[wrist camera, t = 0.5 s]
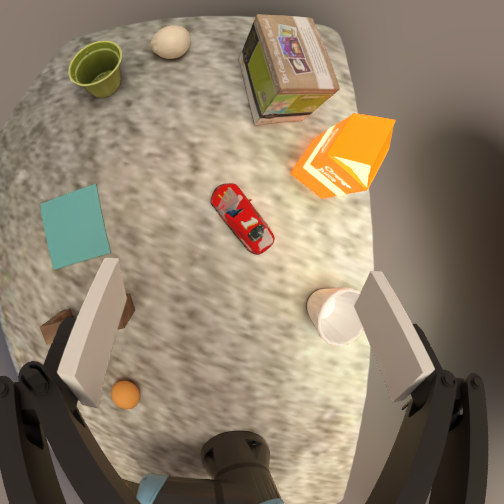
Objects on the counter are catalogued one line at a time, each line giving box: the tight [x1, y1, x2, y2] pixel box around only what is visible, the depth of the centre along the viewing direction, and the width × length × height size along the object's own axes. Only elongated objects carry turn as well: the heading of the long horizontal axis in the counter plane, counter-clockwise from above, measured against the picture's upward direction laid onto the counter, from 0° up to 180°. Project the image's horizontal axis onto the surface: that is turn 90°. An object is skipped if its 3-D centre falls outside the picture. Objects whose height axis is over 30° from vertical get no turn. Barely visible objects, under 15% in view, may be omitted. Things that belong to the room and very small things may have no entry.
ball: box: [111, 381, 140, 409], centre depth 43 cm, size 6×6×6 cm
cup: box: [307, 287, 364, 346], centre depth 48 cm, size 10×10×9 cm
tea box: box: [239, 15, 340, 125], centre depth 40 cm, size 15×10×15 cm, turn 12°
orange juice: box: [290, 113, 395, 198], centre depth 40 cm, size 8×9×20 cm
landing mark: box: [40, 184, 111, 270], centre depth 41 cm, size 12×12×1 cm
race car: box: [211, 184, 274, 255], centre depth 46 cm, size 13×5×4 cm, turn 37°
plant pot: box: [69, 41, 122, 98], centre depth 36 cm, size 9×9×9 cm
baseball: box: [151, 25, 190, 59], centre depth 39 cm, size 7×7×7 cm
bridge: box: [40, 294, 135, 345], centre depth 39 cm, size 3×14×9 cm, turn 103°
